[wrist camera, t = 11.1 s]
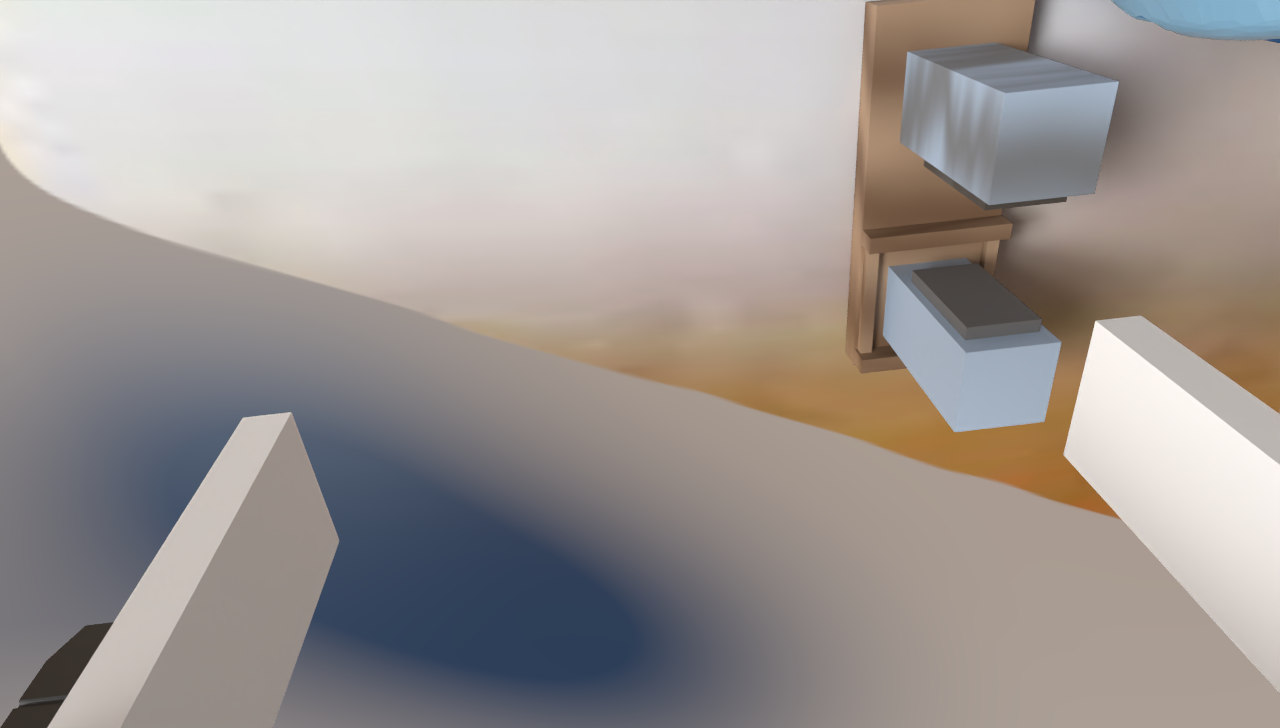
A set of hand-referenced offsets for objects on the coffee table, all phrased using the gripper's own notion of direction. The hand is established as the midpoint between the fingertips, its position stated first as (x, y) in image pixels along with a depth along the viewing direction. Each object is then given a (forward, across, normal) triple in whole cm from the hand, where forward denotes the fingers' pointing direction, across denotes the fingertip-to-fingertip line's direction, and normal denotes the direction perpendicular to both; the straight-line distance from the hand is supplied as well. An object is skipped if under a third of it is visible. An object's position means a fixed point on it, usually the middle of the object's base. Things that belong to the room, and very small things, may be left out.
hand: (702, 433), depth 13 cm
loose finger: (+25, +15, -11) cm, 31 cm away
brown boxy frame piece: (+27, +15, -6) cm, 31 cm away
